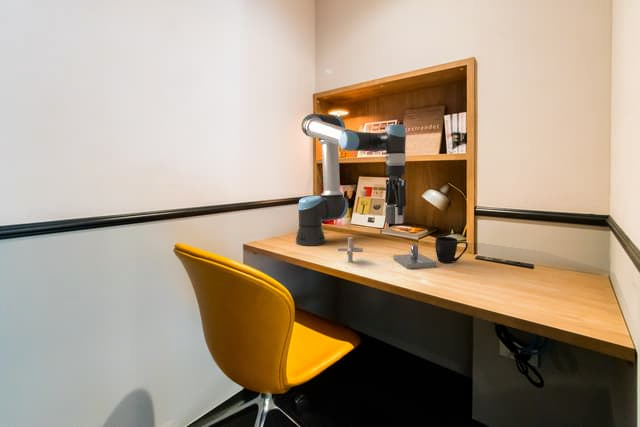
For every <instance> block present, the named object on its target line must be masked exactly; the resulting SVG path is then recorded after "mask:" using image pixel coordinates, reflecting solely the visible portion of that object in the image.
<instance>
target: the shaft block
mask: <svg viewBox="0 0 640 427" xmlns="http://www.w3.org/2000/svg"><path fill="white" fill-rule="evenodd" d="M392 258H393V261H394V262H395V263H398V264H399V265H401V266H402V267H403V268H405V269H407V270H411V269H412V270H413V269H424V268H436V266H437V261H435V260H433V259H431V258H430V257H427V256H426V255H423V254H422V253H419V245H418V244H416V243H415V244H412V243H411V246H410V253H408V254H395V255H394V254H393V257H392Z"/></svg>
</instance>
